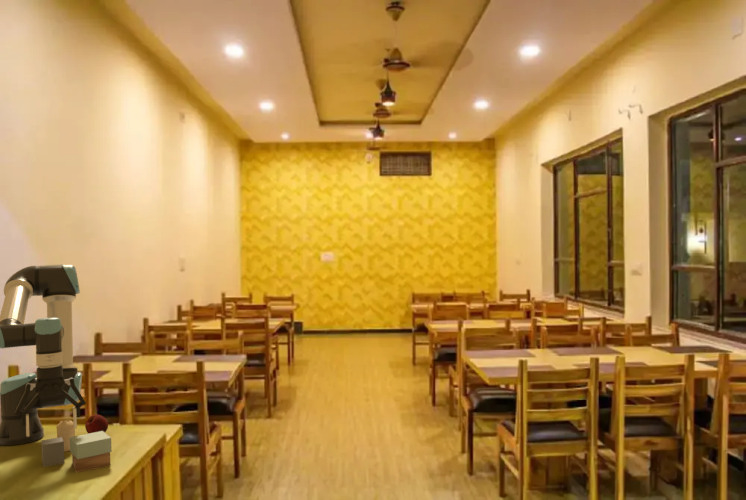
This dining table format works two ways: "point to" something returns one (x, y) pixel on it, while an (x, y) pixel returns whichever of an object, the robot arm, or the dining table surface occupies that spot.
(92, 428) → the apple
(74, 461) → the tower base
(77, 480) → the dining table surface
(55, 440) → the block
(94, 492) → the dining table surface
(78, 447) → the tower top
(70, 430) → the beige bottle
